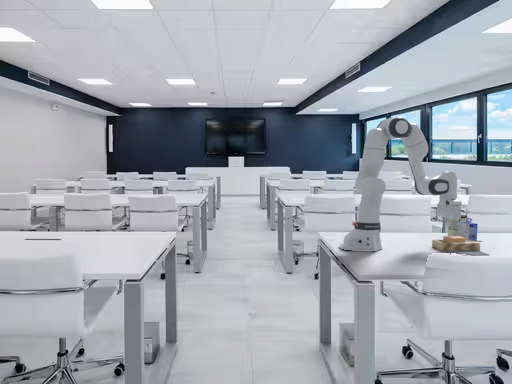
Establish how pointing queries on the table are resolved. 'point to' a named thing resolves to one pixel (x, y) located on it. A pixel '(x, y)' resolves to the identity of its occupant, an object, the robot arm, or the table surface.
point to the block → (454, 239)
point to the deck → (455, 245)
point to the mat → (468, 252)
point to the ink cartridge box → (468, 230)
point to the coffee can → (455, 226)
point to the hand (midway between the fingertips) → (447, 225)
